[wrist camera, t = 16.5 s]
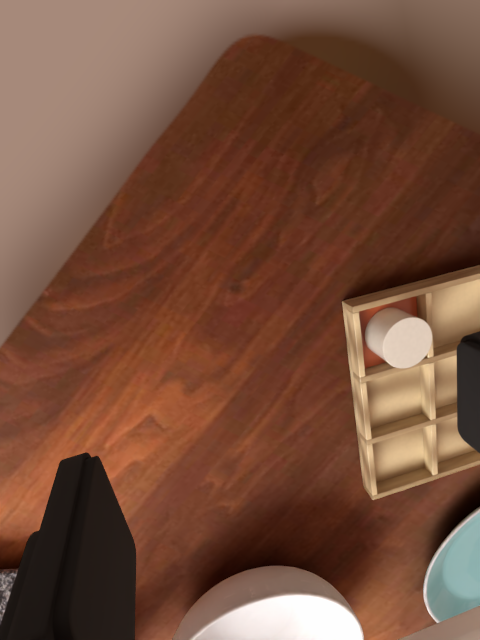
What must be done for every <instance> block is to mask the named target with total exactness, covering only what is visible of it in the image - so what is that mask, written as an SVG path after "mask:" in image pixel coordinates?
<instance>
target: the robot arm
mask: <svg viewBox="0 0 480 640" xmlns="http://www.w3.org/2000/svg"><path fill="white" fill-rule="evenodd" d="M457 428H458V432H459V434H460V436H461V438H462V439H463V440H464V441H465V442H466V443H467V444H469V445H470V446H471V447H472V448H474V449H475V450H476V451H477V452H479V453H480V331H479V332H476V333H473V334H469V335H466V336H464V337H463V338H462V339H461V341H460V344H458V346H457ZM135 591H136V549H135V543H134V540H133V537H132V535H131V532H130V530H129V527H128V525H127V523H126V520H125V518H124V515H123V513H122V511H121V508H120V506H119V503H118V501H117V498H116V496H115V494H114V491H113V489H112V486H111V484H110V482H109V479H108V477H107V474H106V472H105V469H104V467H103V465H102V462H101V460H100V458H99V457H98V456H95V457H92V458H91V456H90V455H89V454H88V453H83V454H80V455H77V456H73V457H70V458H67V459H64V460H62V461H61V462H60V464H59V467H58V470H57V473H56V477H55V480H54V484H53V487H52V490H51V494H50V497H49V500H48V504H47V507H46V510H45V514H44V517H43V520H42V524H41V527H40V530H39V531H36V532H34V533H33V534H32V535H31V536H30V537H29V539H28V541H27V544H26V547H25V550H24V553H23V556H22V559H21V562H20V565H19V569H18V572H17V575H16V578H15V581H14V584H13V587H12V590H11V593H10V596H9V599H8V602H7V606H6V609H5V612H4V615H3V618H2V621H1V624H0V640H135ZM399 640H480V606H478V607H475V608H473V609H470V610H468V611H466V612H463V613H461V614H458V615H456V616H454V617H451V618H449V619H446V620H444V621H442V622H439V623H437V624H434V625H432V626H430V627H427V628H425V629H423V630H420V631H418V632H415V633H413V634H411V635H408V636H406V637H403V638H401V639H399Z"/></svg>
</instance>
